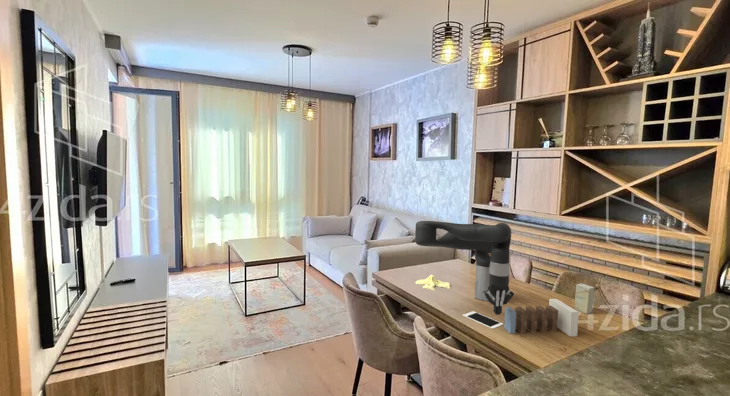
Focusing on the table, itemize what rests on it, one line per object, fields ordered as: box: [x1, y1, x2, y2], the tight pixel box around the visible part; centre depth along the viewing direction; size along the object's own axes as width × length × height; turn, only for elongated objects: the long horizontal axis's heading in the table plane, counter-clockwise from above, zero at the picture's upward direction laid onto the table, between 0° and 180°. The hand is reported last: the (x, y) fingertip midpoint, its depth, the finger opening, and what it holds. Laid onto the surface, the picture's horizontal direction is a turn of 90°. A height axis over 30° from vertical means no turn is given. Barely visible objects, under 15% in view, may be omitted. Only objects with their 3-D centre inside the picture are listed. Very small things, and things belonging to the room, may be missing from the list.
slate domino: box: [503, 306, 516, 334], centre depth 143 cm, size 2×5×9 cm, turn 6°
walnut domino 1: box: [514, 306, 527, 334], centre depth 143 cm, size 2×5×9 cm, turn 6°
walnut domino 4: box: [545, 305, 558, 333], centre depth 145 cm, size 2×5×9 cm, turn 6°
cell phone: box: [462, 310, 504, 330], centre depth 154 cm, size 8×16×1 cm, turn 34°
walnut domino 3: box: [535, 305, 548, 333], centre depth 144 cm, size 2×5×9 cm, turn 6°
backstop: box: [548, 298, 580, 337], centre depth 145 cm, size 3×14×10 cm, turn 6°
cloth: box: [415, 274, 451, 291], centre depth 201 cm, size 22×19×6 cm
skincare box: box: [573, 283, 595, 315], centre depth 163 cm, size 6×4×12 cm
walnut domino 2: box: [525, 305, 538, 334], centre depth 144 cm, size 2×5×9 cm, turn 6°
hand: (497, 314), depth 142 cm, fingers closed
